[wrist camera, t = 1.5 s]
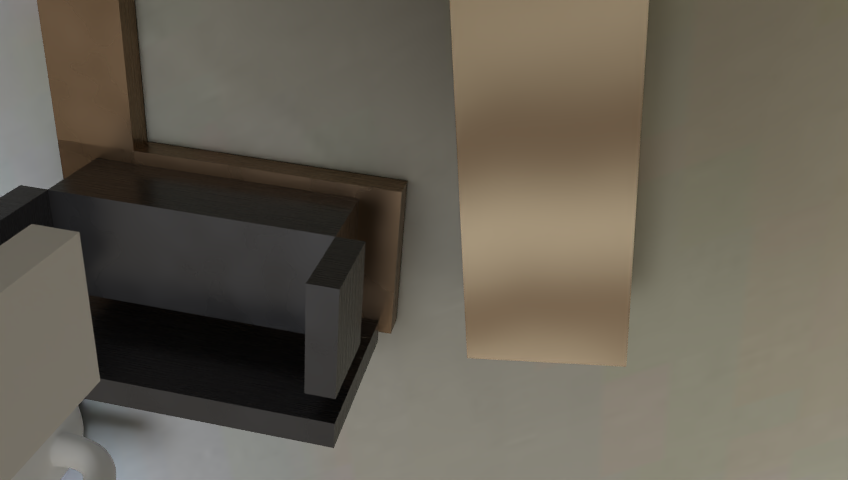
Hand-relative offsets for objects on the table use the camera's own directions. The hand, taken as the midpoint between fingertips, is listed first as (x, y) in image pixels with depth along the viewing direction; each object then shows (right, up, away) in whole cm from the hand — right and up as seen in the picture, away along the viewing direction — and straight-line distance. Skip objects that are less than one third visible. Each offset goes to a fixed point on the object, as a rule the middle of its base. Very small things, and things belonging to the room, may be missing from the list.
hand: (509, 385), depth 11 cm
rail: (+3, +8, +14) cm, 17 cm away
